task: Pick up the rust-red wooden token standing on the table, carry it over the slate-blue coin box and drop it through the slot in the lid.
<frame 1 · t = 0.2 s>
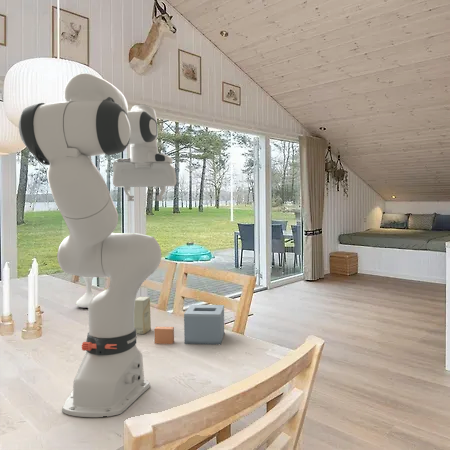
hand: (145, 201, 132), 47 cm above the table, tool pointing down, fingers open, 8 cm apart
skincare box: (142, 331, 148), on the table
coin box: (205, 338, 140), on the table
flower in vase: (88, 307, 184), on the table
token: (164, 342, 136), on the table
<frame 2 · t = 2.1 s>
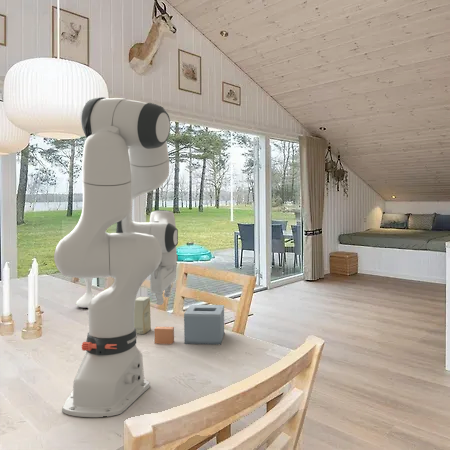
hand: (163, 300, 136), 14 cm above the table, tool pointing down, fingers open, 8 cm apart
nothing on the table moved.
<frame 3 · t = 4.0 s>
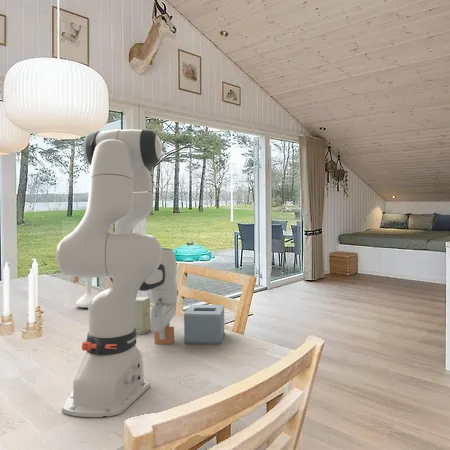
hand: (164, 336, 136), 2 cm above the table, tool pointing down, fingers closed on token, 2 cm apart
token: (164, 342, 136), on the table, touching gripper
everything else where it was.
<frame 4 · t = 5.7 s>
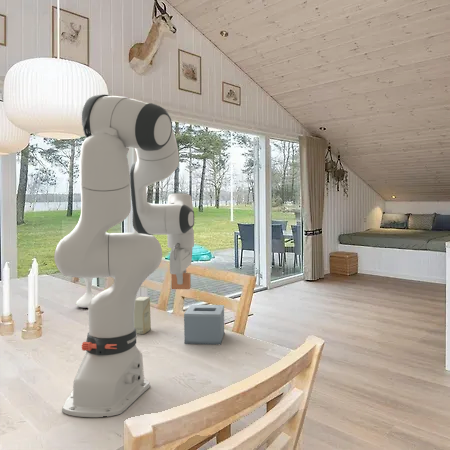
hand: (181, 282, 137), 20 cm above the table, tool pointing down, fingers closed on token, 2 cm apart
token: (181, 288, 137), point 18 cm above the table, touching gripper
everything else where it was.
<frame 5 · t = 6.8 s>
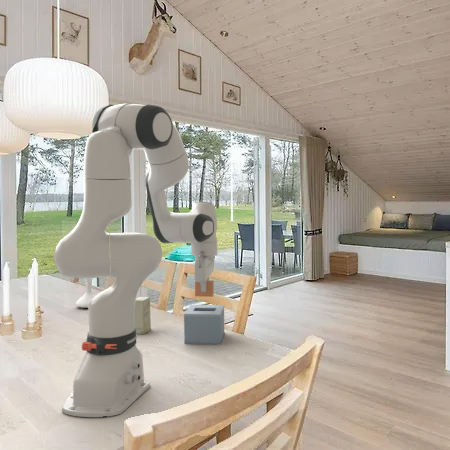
hand: (204, 290, 139), 17 cm above the table, tool pointing down, fingers closed on token, 2 cm apart
token: (204, 295, 139), point 15 cm above the table, touching gripper
everything else where it was.
when the fingers open (12 cm above the table, at t = 7.7 s): token drops 9 cm, resting on coin box.
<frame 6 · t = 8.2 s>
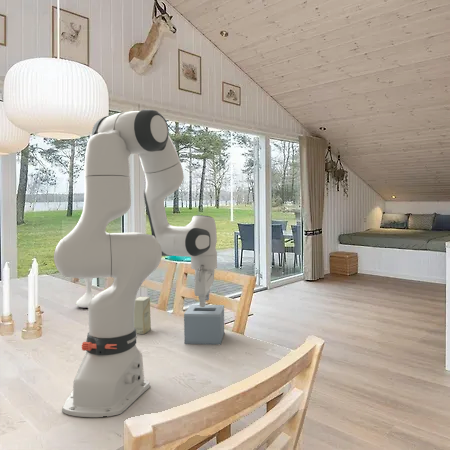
hand: (204, 303, 139), 12 cm above the table, tool pointing down, fingers open, 8 cm apart
token: (204, 335, 140), point 1 cm above the table, touching coin box
everything else where it was.
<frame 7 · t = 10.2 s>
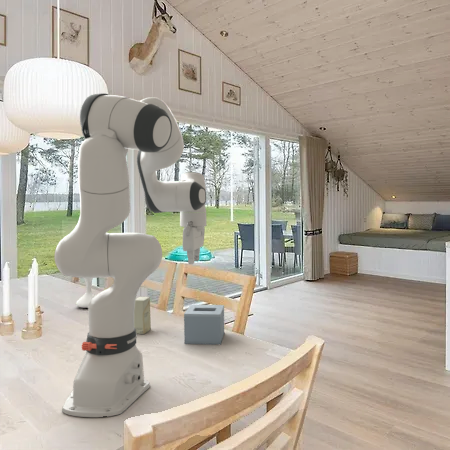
hand: (193, 262, 137), 26 cm above the table, tool pointing down, fingers open, 8 cm apart
nothing on the table moved.
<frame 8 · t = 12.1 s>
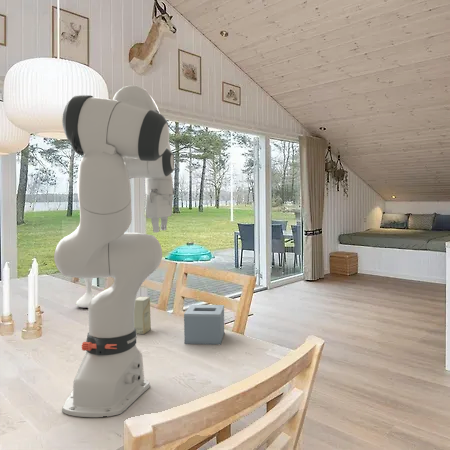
hand: (160, 231, 135), 37 cm above the table, tool pointing down, fingers open, 8 cm apart
nothing on the table moved.
at the end: token inside the target area on the coin box (0.1 cm from its centre), point 0.8 cm above the coin box's base; the gripper is holding nothing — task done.
